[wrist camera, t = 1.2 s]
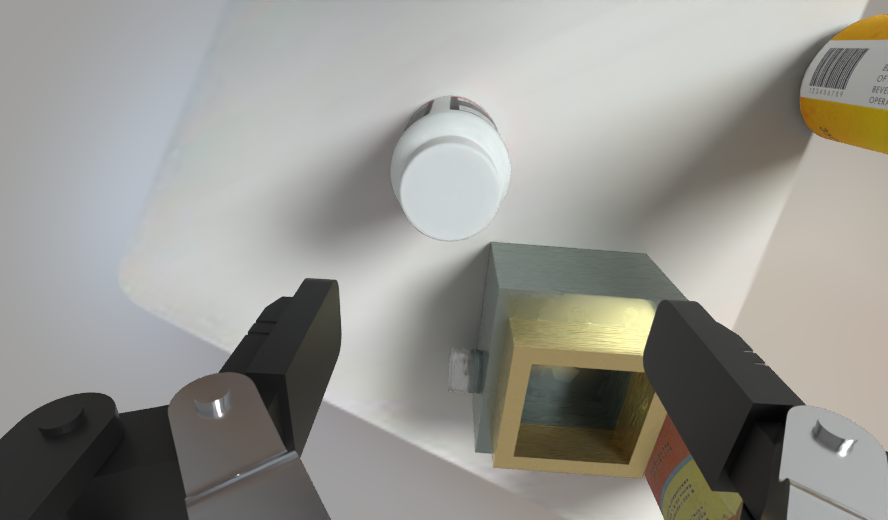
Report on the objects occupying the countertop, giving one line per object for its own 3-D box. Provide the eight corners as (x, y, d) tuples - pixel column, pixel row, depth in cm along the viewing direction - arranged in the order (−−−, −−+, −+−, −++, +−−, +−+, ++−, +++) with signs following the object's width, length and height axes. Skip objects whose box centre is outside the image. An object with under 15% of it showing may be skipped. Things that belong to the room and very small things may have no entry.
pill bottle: (421, 198, 27) (404, 271, 19) (392, 110, 25) (358, 145, 16) (507, 174, 27) (532, 238, 18) (485, 81, 24) (502, 102, 16)
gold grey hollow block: (459, 239, 28) (461, 311, 21) (646, 253, 29) (715, 330, 21) (445, 385, 34) (442, 485, 26) (603, 396, 34) (646, 499, 26)
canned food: (704, 471, 37) (806, 646, 26) (590, 426, 35) (649, 595, 24) (807, 377, 33) (981, 541, 22) (682, 319, 31) (805, 467, 20)
